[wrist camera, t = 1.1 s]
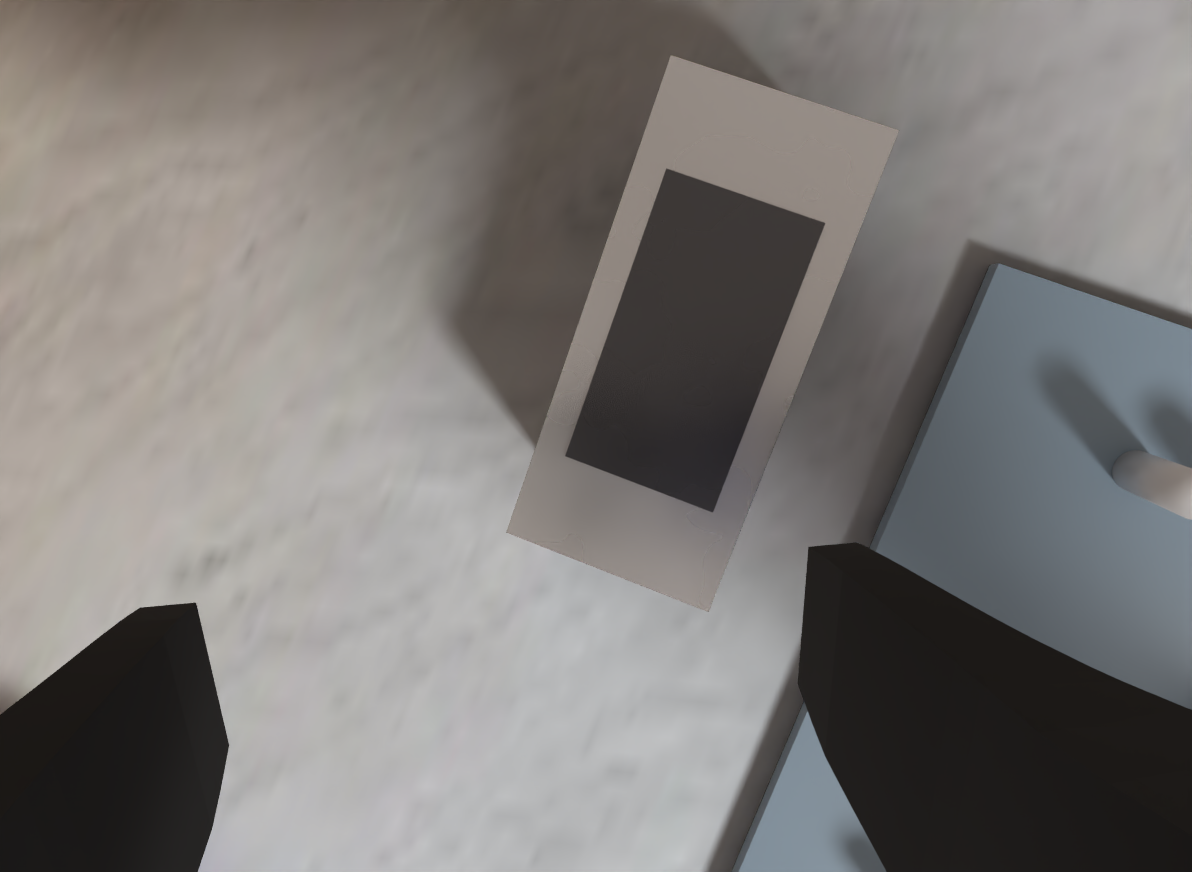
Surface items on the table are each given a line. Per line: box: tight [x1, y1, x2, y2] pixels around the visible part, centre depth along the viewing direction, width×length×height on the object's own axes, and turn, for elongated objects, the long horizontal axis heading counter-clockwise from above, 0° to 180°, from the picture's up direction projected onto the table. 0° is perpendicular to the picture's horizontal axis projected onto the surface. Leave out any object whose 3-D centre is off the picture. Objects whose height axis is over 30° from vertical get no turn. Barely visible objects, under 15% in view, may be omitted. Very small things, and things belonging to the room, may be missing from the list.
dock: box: [732, 263, 1192, 872], centre depth 22 cm, size 12×20×4 cm, turn 160°
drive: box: [507, 55, 899, 612], centre depth 21 cm, size 4×10×6 cm, turn 160°
